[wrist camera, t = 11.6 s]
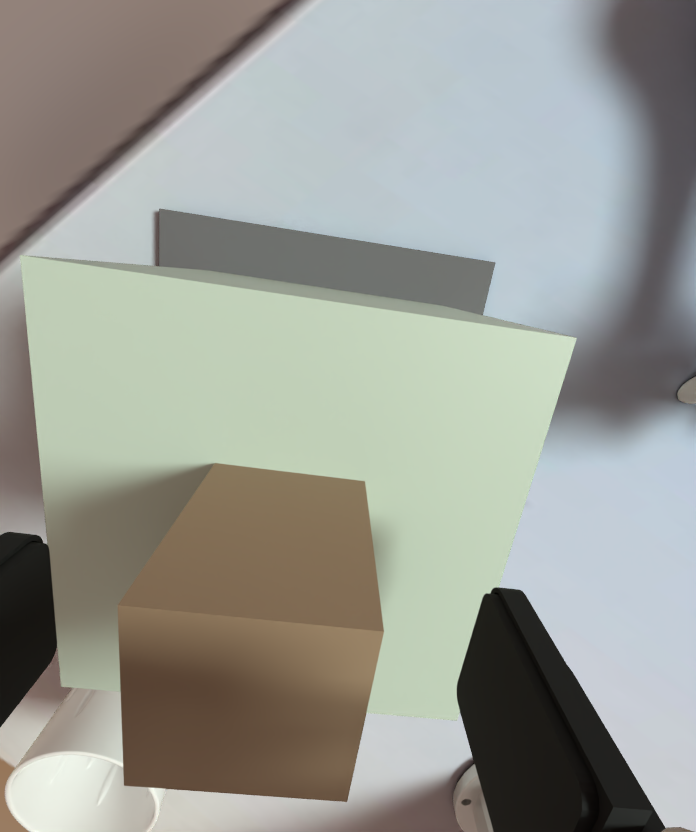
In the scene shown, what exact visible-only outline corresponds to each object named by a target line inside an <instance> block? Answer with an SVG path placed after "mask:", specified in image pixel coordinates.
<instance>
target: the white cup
mask: <svg viewBox="0 0 696 832" xmlns="http://www.w3.org/2000/svg"><path fill="white" fill-rule="evenodd" d="M165 792H166V789H163V788H149V787H135V786H124V774H123V746H122V718H121V692H117V691H106V690H94V689H82V688H72V689H71V691H70V692H69V693H68V695H67V696H66V698H65V699H64V700H63V702H62V703H61V705H60V706H59V707H58V709H57V710H56V712H55V713H54V714H53V716H52V717H51V719H50V720H49V721H48V723H47V724H46V726H45V727H44V729H43V730H42V731H41V733H40V734H39V736H38V737H37V738H36V740H35V741H34V743H33V744H32V745H31V747H30V748H29V750H28V751H27V752H26V754H25V755H24V757H23V758H22V759H21V761H20V762H19V764H18V765H17V766H16V768H15V769H14V771H13V772H12V773H11V775H10V776H9V778H8V780H7V783H6V787H5V800H6V804H7V806H8V809H9V811H10V812H11V814H12V815H13V817H14V818H15V819H16V820H17V821H18V822H19V823H20V824H21V825H22V826H23V827H24V828H25V829H27V830H28V831H29V832H149V831H150V830H151V829H152V828H153V827H154V825H155V823H156V821H157V819H158V816H159V813H160V809H161V806H162V803H163V799H164V796H165Z"/></svg>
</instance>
